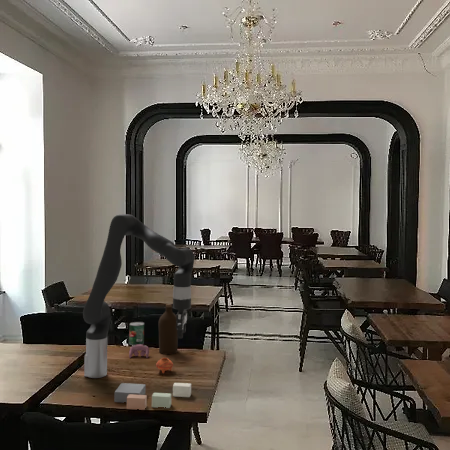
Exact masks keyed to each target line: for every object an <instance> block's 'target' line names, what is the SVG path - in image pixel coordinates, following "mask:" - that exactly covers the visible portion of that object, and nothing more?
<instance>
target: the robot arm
mask: <svg viewBox="0 0 450 450" xmlns="http://www.w3.org/2000/svg"><path fill="white" fill-rule="evenodd" d="M126 236H132V237H135V238H138V239H140V240H141V241H143V242H144V243H145V244H146V246H148V247H149V249H151V250H152V251H153V252H156V253H158V254H159V255H161V256H163V257H164V258H165V260H167V261H168V262H169V263H171V264H172V265H174V266H175V267H178V268H177V270H176V271H175V272H174V274H173V275H174V276H173V290H172V309H175V310H177V313H176V314H175V315H176V329H177V338H178V340H179V339H180V340H181V339H184V334H186V329H187V327H186V326H187V325H186V324H187V321H188V310H190V309H191V308H192V288H191V287H192V283H191V282H192V281H191V280H192V277H191V276H192V273H193V268H194V264H195V255H194V252H193V251H192V249H190V248H189V247H188V248H187V247H184V248H179V247H176V244H175V243H174V242H173V241H171V240H170V239H168V238H166V237H164V236H163V235H161V234H159V233H157V232H155V231H154V230H152V229H151V228H150V227H148V226H147V225H145V224H144V223H143V222H141V221H140V220H139V219H138V218H137V217H135V216H134V215H132V214H127V213H126V214H125V213H124V214H123V213H122V214H116V215H115V216H113V218H112V220H111V221H110V224H109V228H108V234H107V239H106V243H105V247H104V250H103V254H102V256H101V259H100V262H99V265H98V269H97V271H96V275H95V278H94V281H93V285H92V288H91V291H90V293H89V296H88V299H87V301H86V303H85V304H84V307H83V310H82V317H83V320H84V322H85V323H86V324H88V325H90V327H89V328H88V329H87V331H86V332H85V333H86V336H85V338H86V339H85V341H86V342H85V347H86V349H85V354H84V366H83V367H84V368H83V369H84V371H83V373H84V374H83V376H84V377H88V378H90V379H91V378H92V379H98V378H103V377H106V376H107V375H108V374H107V373H108V333H109V330H110V324H111V323H110V320H111V310H110V306H109V305H108V303H107V302H106V301H105V299H106V297H107V295H108V294H109V292H110V291H111V289H112V288H113V287H114V285H116V282H117V281H118V277H119V275H120V272H121V268H122V264H123V262H122V253H121V247H122V244H123V240H124V238H125V237H126Z"/></svg>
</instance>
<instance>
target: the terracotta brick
mask: <svg viewBox="0 0 450 450" xmlns="http://www.w3.org/2000/svg"><path fill="white" fill-rule="evenodd" d="M147 406H148V395H147V394H145V395H134V394H129V395H128V397H127V403H126V410H137V409H139V410H141V411H145V410H146V409H147ZM145 408H146V409H145Z"/></svg>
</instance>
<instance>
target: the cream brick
mask: <svg viewBox="0 0 450 450" xmlns="http://www.w3.org/2000/svg"><path fill="white" fill-rule="evenodd" d="M191 395H192V383H190V382H189V383H187V382H174V383H173V385H172V397H176V398H177V397H178V398H179V397H180V398H181V397H182V398H191Z"/></svg>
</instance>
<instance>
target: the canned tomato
mask: <svg viewBox="0 0 450 450" xmlns="http://www.w3.org/2000/svg"><path fill="white" fill-rule="evenodd" d="M128 334H129V337H128V338H129V340H128V341H129V343H128V344H129V345H131V346H133V345H138V344H141V345H145V344H144V343H145V322H143V321H134V322H133V321H132V322H130V323H129V333H128Z"/></svg>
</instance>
